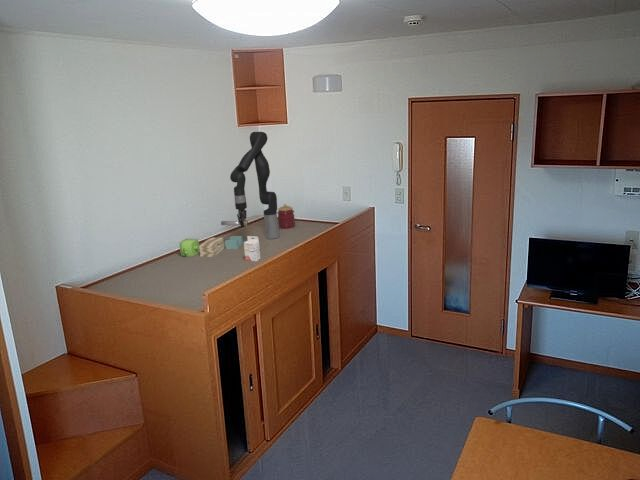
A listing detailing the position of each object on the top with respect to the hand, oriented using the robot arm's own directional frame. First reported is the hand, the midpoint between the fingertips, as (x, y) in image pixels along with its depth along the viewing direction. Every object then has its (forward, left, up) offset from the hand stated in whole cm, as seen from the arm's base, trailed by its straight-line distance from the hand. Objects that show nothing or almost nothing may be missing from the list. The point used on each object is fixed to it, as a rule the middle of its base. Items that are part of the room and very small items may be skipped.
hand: (243, 226), depth 363 cm
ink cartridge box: (-15, +32, -14) cm, 38 cm away
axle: (+6, 0, +1) cm, 6 cm away
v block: (+8, 0, -14) cm, 16 cm away
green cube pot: (+32, +18, -14) cm, 39 cm away
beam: (+18, +14, -14) cm, 27 cm away
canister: (-16, -54, -14) cm, 58 cm away
